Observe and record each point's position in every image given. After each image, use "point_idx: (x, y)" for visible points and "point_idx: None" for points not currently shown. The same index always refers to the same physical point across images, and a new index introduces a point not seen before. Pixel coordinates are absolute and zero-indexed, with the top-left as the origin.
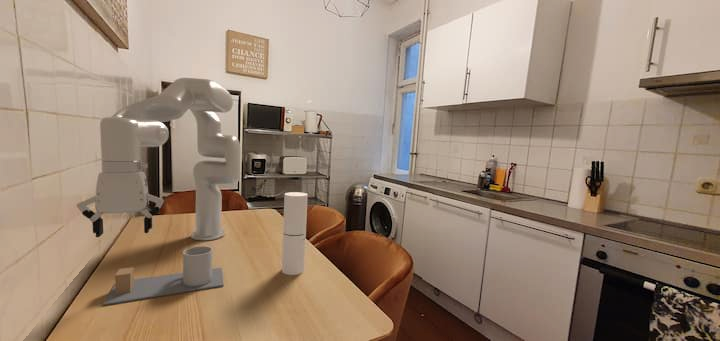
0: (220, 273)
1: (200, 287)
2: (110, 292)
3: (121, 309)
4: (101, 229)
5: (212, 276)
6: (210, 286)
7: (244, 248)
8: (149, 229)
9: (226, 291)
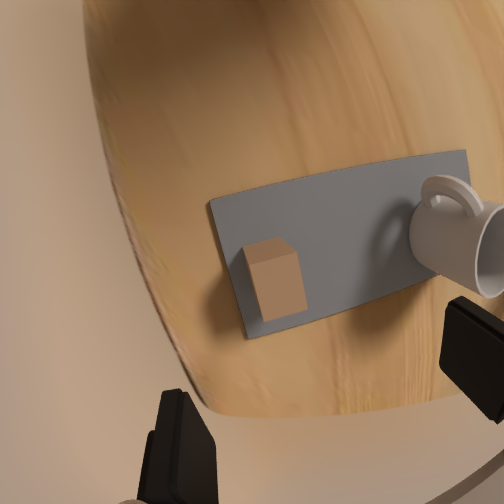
0: None
1: None
2: (232, 278)
3: (299, 352)
4: (199, 447)
5: None
6: None
7: (465, 24)
8: (458, 298)
9: None
